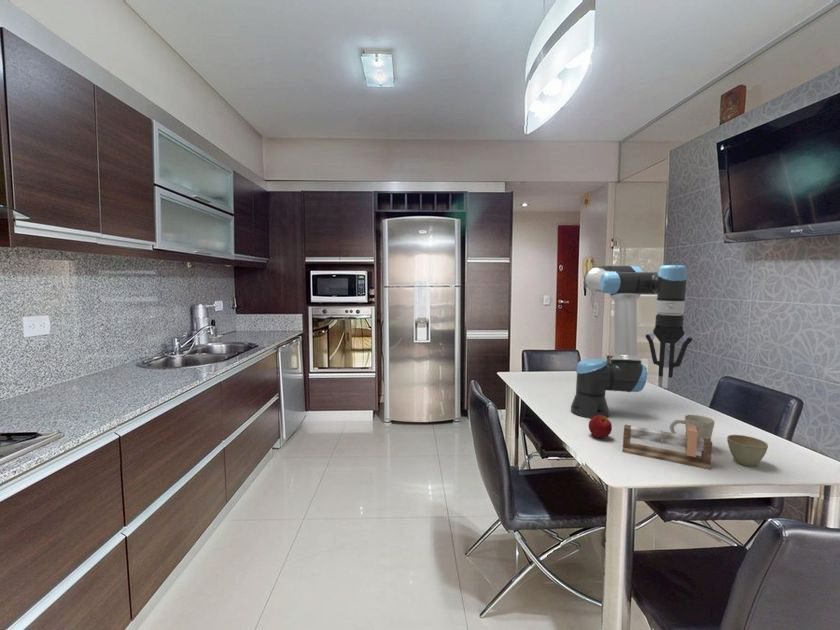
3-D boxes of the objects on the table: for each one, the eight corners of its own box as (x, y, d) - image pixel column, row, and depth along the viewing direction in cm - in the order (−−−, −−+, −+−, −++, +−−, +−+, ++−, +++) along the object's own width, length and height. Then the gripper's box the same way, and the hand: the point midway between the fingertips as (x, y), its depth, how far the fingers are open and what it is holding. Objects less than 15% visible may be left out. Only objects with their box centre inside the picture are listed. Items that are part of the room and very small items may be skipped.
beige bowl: (717, 456, 130) (719, 434, 130) (745, 455, 131) (747, 434, 130) (744, 470, 120) (746, 447, 120) (775, 469, 121) (777, 446, 120)
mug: (713, 453, 132) (715, 424, 131) (668, 445, 138) (670, 417, 138) (711, 445, 139) (713, 417, 138) (668, 437, 145) (670, 411, 145)
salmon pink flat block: (686, 455, 124) (688, 430, 123) (685, 448, 130) (686, 423, 129) (695, 457, 123) (697, 431, 122) (693, 449, 128) (695, 425, 128)
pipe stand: (622, 451, 132) (623, 429, 132) (623, 443, 139) (625, 422, 139) (711, 469, 120) (713, 444, 120) (708, 459, 127) (709, 436, 127)
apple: (588, 439, 143) (589, 417, 142) (587, 432, 150) (589, 411, 149) (612, 442, 140) (613, 420, 139) (610, 435, 147) (611, 413, 147)
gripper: (646, 313, 127) (641, 386, 129) (695, 316, 120) (689, 392, 122) (646, 312, 133) (641, 381, 135) (693, 314, 127) (688, 387, 129)
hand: (664, 386), depth 129 cm, fingers closed
